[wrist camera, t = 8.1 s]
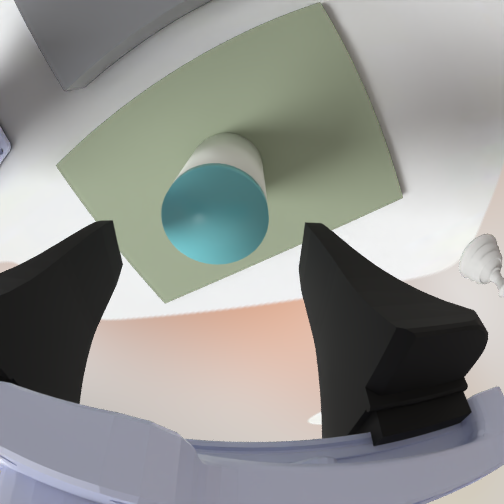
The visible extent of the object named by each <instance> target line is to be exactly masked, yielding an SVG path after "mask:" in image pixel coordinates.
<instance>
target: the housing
mask: <svg viewBox="0 0 504 504" xmlns="http://www.w3.org/2000/svg"><path fill="white" fill-rule="evenodd" d="M14 1H15V3H16V5H17V7H18V9H19V11H20V13H21V15H22V17H23V19H24V21H25V23H26V25H27V27H28V29H29V30H30V32H31V34H32V36H33V38H34V40H35V42H36V43H37V45H38V47H39V49H40V51H41V52H42V54H43V56H44V58H45V59H46V61H47V63H48V64H49V66H50V68H51V70H52V71H53V73H54V75H55V76H56V78H57V80H58V81H59V83H60V85H61V86H62V88H63V90H64V91H70V90H75V89H80V88H85V87H86V86H87V85H88V84H89V83H90V82H91V81H93V80H94V79H95V78H96V77H97V76H98V75H100V74H101V73H102V72H103V71H104V70H106V69H107V68H108V67H109V66H111V65H112V64H113V63H114V62H116V61H117V60H118V59H119V58H121V57H122V56H123V55H125V54H126V53H127V52H129V51H130V50H131V49H133V48H134V47H136V46H137V45H138V44H140V43H141V42H143V41H144V40H146V39H147V38H149V37H150V36H152V35H153V34H155V33H156V32H158V31H159V30H161V29H162V28H164V27H165V26H167V25H169V24H170V23H172V22H173V21H175V20H177V19H179V18H180V17H182V16H184V15H185V14H187V13H189V12H191V11H192V10H194V9H196V8H198V7H200V6H202V5H204V4H205V3H207V2H209V1H211V0H14Z"/></svg>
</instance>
